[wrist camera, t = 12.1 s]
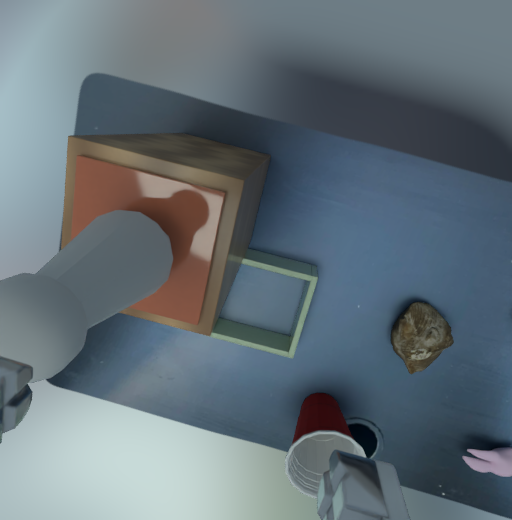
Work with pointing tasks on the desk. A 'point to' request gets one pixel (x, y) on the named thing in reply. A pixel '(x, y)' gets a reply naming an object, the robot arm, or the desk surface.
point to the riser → (195, 171)
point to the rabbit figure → (491, 461)
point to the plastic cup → (317, 442)
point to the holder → (264, 337)
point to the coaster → (168, 218)
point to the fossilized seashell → (420, 336)
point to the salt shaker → (81, 289)
